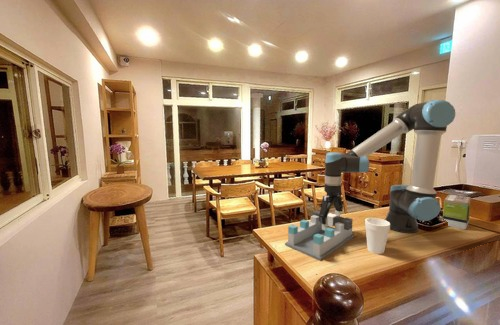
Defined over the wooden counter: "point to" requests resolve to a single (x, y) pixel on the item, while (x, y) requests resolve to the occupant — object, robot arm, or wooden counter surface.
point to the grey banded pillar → (335, 220)
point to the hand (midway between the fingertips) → (330, 226)
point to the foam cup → (376, 234)
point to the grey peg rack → (317, 237)
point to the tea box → (457, 211)
